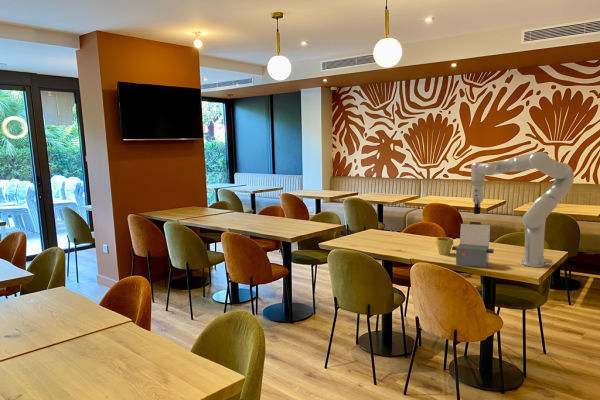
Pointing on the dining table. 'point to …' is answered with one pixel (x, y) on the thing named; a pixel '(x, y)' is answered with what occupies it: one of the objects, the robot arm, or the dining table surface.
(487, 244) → the lid
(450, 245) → the plant pot
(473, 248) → the cooker
